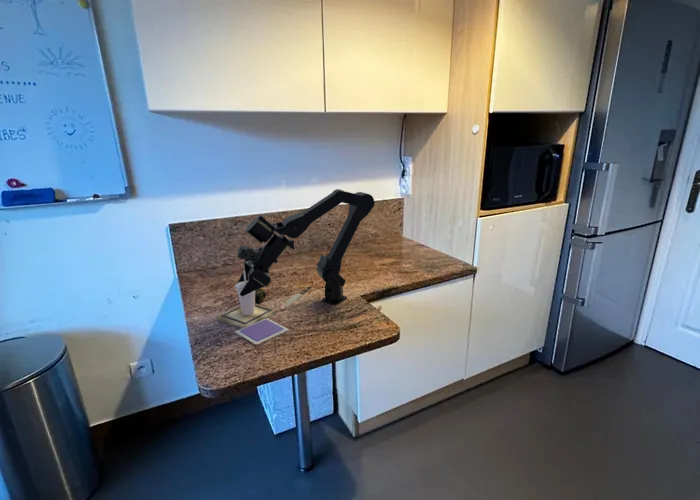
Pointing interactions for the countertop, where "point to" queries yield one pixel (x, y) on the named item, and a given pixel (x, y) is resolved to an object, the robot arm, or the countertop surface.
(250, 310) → the smoothie
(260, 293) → the tape measure
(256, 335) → the ink pad
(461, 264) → the countertop surface
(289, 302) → the chef's knife
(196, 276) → the countertop surface
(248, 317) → the board
